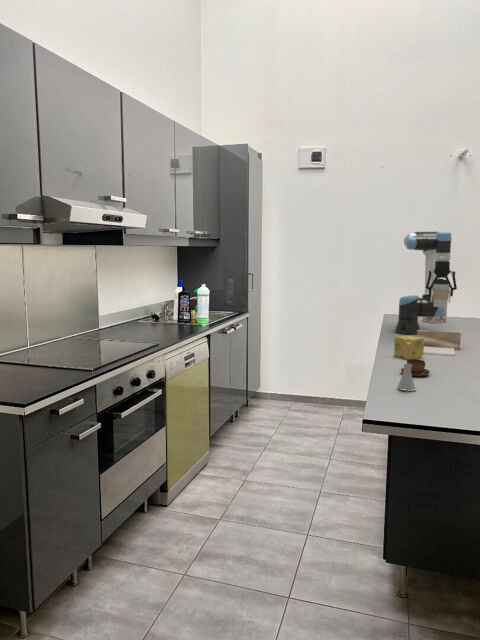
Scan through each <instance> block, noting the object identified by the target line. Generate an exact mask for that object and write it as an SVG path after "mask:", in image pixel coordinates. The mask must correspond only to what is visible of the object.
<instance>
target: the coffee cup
mask: <svg viewBox="0 0 480 640" xmlns="http://www.w3.org/2000/svg"><path fill="white" fill-rule="evenodd" d="M450 283H451V281H450V282H448V280H446V279H445V278H440V279H437V280H435V282H433V306H434V307H447V308H448V302H449V290H450V287H449V284H450Z"/></svg>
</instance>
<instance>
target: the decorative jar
mask: <svg viewBox="0 0 480 640" xmlns="http://www.w3.org/2000/svg"><path fill="white" fill-rule="evenodd" d="M447 313H448V306H447V307H444V310H443V313H442V315H441V316H440V317H422V323H426V324H427V323H428V324H434V325H435V324H446V323H447V316H448V314H447Z"/></svg>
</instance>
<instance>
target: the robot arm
mask: <svg viewBox="0 0 480 640" xmlns="http://www.w3.org/2000/svg"><path fill="white" fill-rule="evenodd" d="M452 240H453V239H452V232H450V231H416V232H415V231H414V232H411V233H409V234H407V235H406V236H405V237H404V239H403V244H404V246H405V248H406V249H407V250H412V251H413V250H414V251H422V253H423V255H424V256H425V259H424V260H425V261H424V262H425V264H424V265H425V267H424V268H425V270H424V273H425V274H424V293H423V294H422V296H421V297H420V295H416V294H415V295H404V296H401V297H400V298H399V302H398V319H397V322H396V323H397V324H396V326H395V328H394V329H395V330H394V332H395V333H396V334H399V335H409V336H412V335H417V330H421V327H420V324H419V317H421V318H423V317H440V316H441V315H442V313H443V310H444V307H434V306H433V282H435V280H437V279H445V280H448V282H450V284H449V296H448V304H451V297H453V294H454V291H455V290H457V289H458V288H457V287H458V286H457V280H456V271H453V270H451V269H450V266H451V261H450V260H451V246H452ZM449 274H450V275H451V277H452V283H453V286H452V283H451V281H450V279H449Z"/></svg>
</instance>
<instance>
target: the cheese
mask: <svg viewBox="0 0 480 640" xmlns="http://www.w3.org/2000/svg"><path fill="white" fill-rule="evenodd" d="M393 347H394V348H393V352H394V354H393V355H394V357H398V358H403V359H405V360H409V359H422V358H423V356H424V354H423V351H424V338H419V337H417V336H412V335H403V336H395V337H394V346H393Z"/></svg>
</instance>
